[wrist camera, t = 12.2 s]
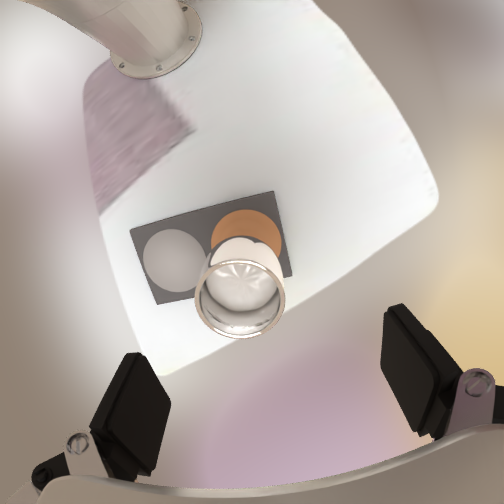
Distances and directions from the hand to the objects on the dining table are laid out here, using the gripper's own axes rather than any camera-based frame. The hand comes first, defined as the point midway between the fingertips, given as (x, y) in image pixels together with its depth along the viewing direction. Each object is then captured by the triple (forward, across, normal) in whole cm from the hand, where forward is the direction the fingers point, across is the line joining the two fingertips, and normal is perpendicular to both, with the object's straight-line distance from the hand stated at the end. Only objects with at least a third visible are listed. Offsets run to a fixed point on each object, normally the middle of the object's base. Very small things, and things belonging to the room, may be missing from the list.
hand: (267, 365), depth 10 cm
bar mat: (+25, +6, +3) cm, 26 cm away
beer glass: (+25, +2, +3) cm, 25 cm away
